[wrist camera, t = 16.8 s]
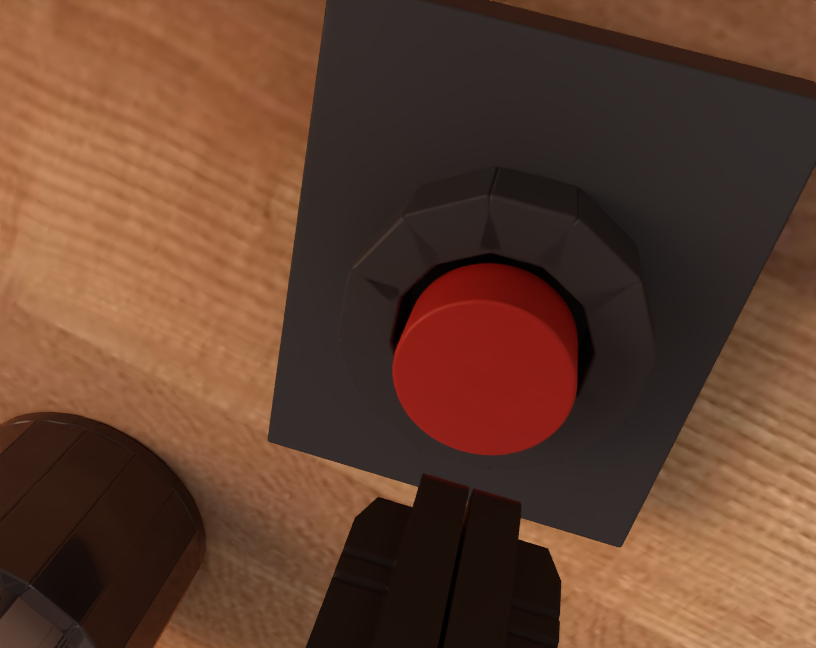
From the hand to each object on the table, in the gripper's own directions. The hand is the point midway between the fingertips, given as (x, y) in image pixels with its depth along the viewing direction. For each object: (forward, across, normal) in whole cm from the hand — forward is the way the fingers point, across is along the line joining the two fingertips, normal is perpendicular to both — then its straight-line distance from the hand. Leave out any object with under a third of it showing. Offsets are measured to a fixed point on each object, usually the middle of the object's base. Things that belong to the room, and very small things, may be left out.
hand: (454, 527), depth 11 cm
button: (+6, 0, 0) cm, 6 cm away
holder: (+9, +12, +14) cm, 20 cm away
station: (+9, 0, 0) cm, 9 cm away
